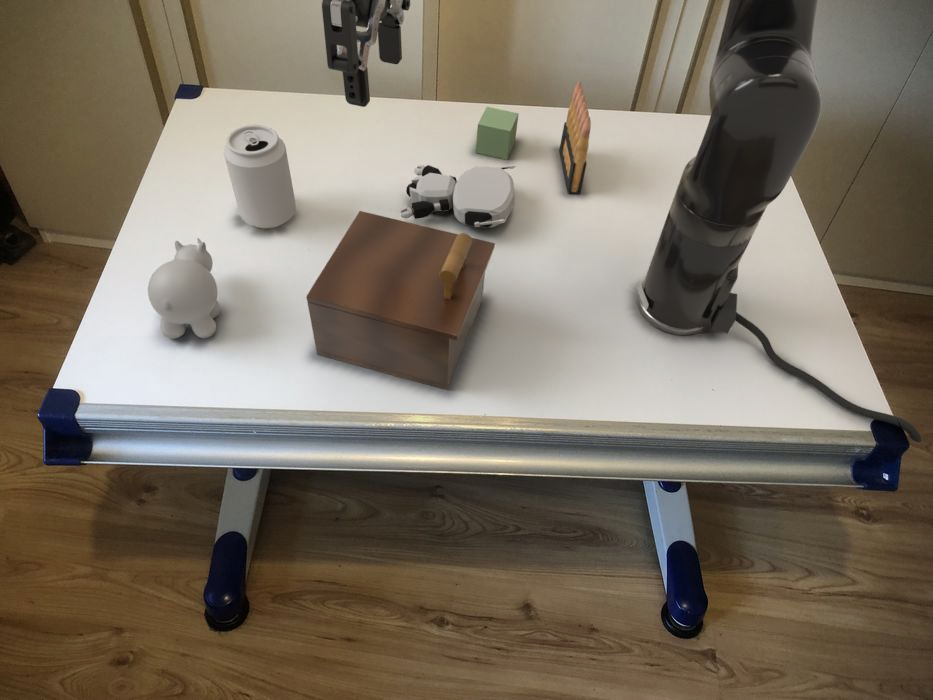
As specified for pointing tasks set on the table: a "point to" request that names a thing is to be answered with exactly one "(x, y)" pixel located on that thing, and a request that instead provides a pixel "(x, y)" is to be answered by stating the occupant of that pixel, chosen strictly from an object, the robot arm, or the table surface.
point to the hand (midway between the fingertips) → (375, 81)
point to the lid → (404, 274)
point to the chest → (390, 344)
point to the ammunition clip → (575, 141)
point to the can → (260, 176)
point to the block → (496, 133)
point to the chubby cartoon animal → (185, 292)
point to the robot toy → (463, 195)
